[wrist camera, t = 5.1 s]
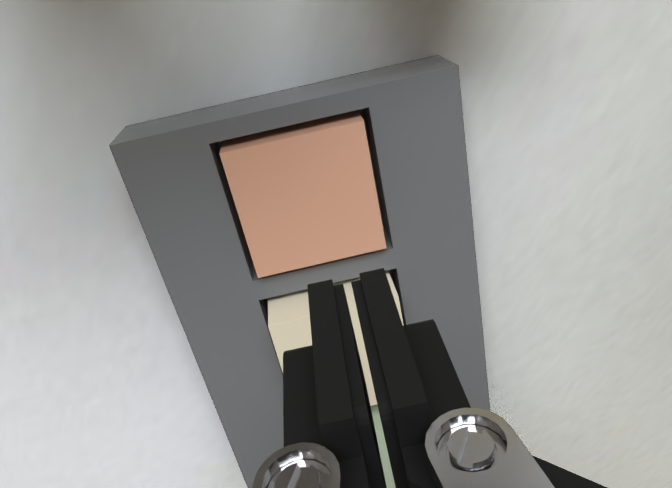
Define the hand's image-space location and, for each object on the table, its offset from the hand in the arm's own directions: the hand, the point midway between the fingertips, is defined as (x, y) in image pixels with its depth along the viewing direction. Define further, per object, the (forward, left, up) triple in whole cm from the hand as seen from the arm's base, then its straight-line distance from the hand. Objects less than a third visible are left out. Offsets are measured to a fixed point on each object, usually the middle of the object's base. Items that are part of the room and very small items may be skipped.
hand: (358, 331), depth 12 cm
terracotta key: (+1, 0, -11) cm, 11 cm away
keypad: (+1, +7, -12) cm, 13 cm away
